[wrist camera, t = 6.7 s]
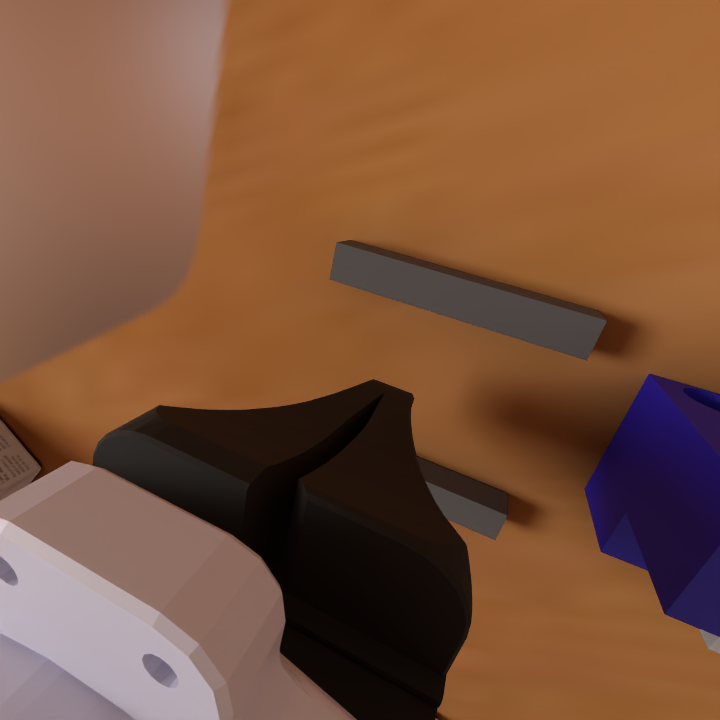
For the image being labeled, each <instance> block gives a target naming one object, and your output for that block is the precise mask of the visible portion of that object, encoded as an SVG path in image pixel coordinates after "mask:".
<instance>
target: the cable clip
mask: <svg viewBox="0 0 720 720" xmlns="http://www.w3.org/2000/svg"><path fill="white" fill-rule="evenodd" d="M585 493H586V496H587V500H588V504H589V508H590V512H591V516H592V520H593V523H594V527H595V531H596V535H597V539H598V543H599V547H600V550H601V552H603V553H605V554H608V555H610V556H613V557H615V558H618V559H620V560H623V561H625V562H628V563H630V564H633V565H635V566H638V567H640V568H643V569H645V570H648V572H649V574H650V577H651V580H652V582H653V585H654V588H655V590H656V593H657V596H658V598H659V601H660V604H661V606H662V609H663V611H664V614H666V615H668V616H670V617H673V618H675V619H677V620H680V621H682V622H685V623H687V624H689V625H692V626H694V627H696V628H699V629H701V630H704V631H706V632H708V633H711V634H713V635H715V636H718V637H720V394H717V393H714V392H710V391H707V390H704V389H700V388H697V387H693V386H690V385H686V384H683V383H680V382H676V381H673V380H669V379H666V378H662V377H659V376H656V375H652V374H649V375H648V377H647V379H646V380H645V382H644V384H643V386H642V387H641V389H640V391H639V393H638V395H637V396H636V398H635V400H634V402H633V403H632V405H631V407H630V409H629V411H628V412H627V414H626V416H625V418H624V419H623V421H622V423H621V425H620V427H619V428H618V430H617V432H616V434H615V435H614V437H613V439H612V441H611V443H610V444H609V446H608V448H607V450H606V451H605V453H604V455H603V457H602V459H601V460H600V462H599V464H598V466H597V468H596V469H595V471H594V473H593V475H592V476H591V478H590V480H589V482H588V484H587V485H586V487H585Z"/></svg>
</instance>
